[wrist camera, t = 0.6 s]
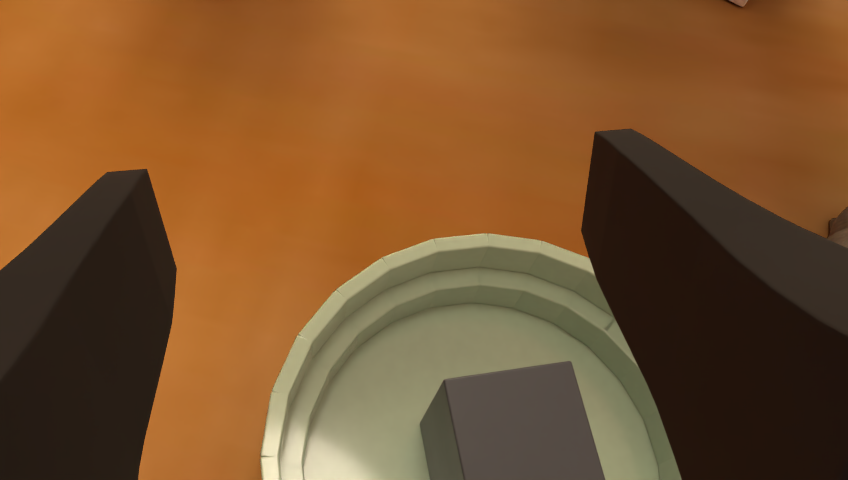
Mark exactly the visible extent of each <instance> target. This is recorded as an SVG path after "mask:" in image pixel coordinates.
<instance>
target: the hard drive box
mask: <svg viewBox="0 0 848 480" xmlns="http://www.w3.org/2000/svg"><path fill="white" fill-rule="evenodd" d="M729 1H731V2H733V3H735V4H737V5H739V6H741V7H742V6H744V5H745V4H746V3H747V1H748V0H729Z"/></svg>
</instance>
